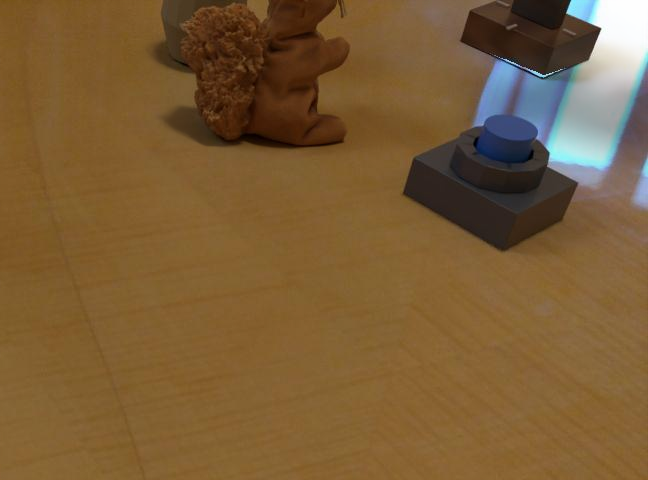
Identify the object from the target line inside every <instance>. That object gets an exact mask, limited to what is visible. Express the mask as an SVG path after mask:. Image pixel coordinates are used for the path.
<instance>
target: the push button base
mask: <svg viewBox="0 0 648 480" xmlns="http://www.w3.org/2000/svg"><path fill="white" fill-rule="evenodd" d="M482 128H483V125H479V126H473V127H471V128H469V129H466V130H464V131H462V132H460V133H459V135H458V137H456V138H453V139H451V140H448V141H447V142H445V143H443V144H440V145H438V146H435V147H434V148H431V149H429V150H426V151H424V152H422V153H420V154H418V155H415V156H413V158H412V162H411V165H410V168H409V171H408V175H407V178H406V181H405V185H404V188H403V191H402V194H403V195H404V196H407V197H409V198H411V199H412V200H413V201H416V202H417V203H419V204H421V205H422V206H424V207H426V208H427V209H429V210H431V211H432V212H434V213H436V214H438V215H439V216H442V217H443V218H444V219H447V220H448V221H450V222H452V223H453V224H455V225H457V226H458V227H461V228H462V229H463V230H465V231H467V232H469V233H470V234H472V235H474V236H476V237H477V238H479V239H481V240H482V241H484V242H486V243H488V244H490V245H491V246H493V247H495V248H496V249H498V250H500V251H502V252H504V251H506V250H508V249H509V248H511V247H513V246H515V245H516V244H517V245H518V243H521V242H522V241H524V240H527V239H528V238H530V237H532V236H533V235H536V234H537V233H539V232H541V231H543V230H544V229H547V228H548V227H550V226H552V225H554V224H556V223H558V222H560V221H561V220H563V219H564V217H565V215H566V213H567V211H568V208H569V205H570V204H571V202H572V199H573V197H574V194H575V192H576V190H577V188H578V186H579V182H578V181H576V180H575V179H572V178H570V177H568V176H567V175H565V174H563V173H560V172H559V171H557V170H555V169H553V168H551V167H549V166H548V165H549V160H550V155H551V152H550V150H549V149H547V147H546V146H545V145H544V144H543V143H542V141H541V140H539V139H538V138H536V140H535V142H534V145H533V147H532V150H531V153H530V155H529V158H528V160H527V161H526V162H524V163H504V162H499V161H495V160H491V159H489V158H487V157H486V156H484V155H482V154H480V153H479V152H478V151H477V150H476V145H477V142H478V139H479V136H480V133H481V131H482Z"/></svg>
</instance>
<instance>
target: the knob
mask: <svg viewBox="0 0 648 480" xmlns="http://www.w3.org/2000/svg"><path fill="white" fill-rule="evenodd" d="M571 2H572V0H514V1H513V4H512V7H511V10H510V11H511V12H514V13H516V14H518V15H521V16H523V17H525V18H528V19H530V20H532V21H534V22H537V23H539V24H541V25H544V26H546V27H548V28H551V29H554V28H557V27H559V26H562V23H563V21H564V18H565V15H566V13H567V14H568V9H569V7H570V4H571Z"/></svg>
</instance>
